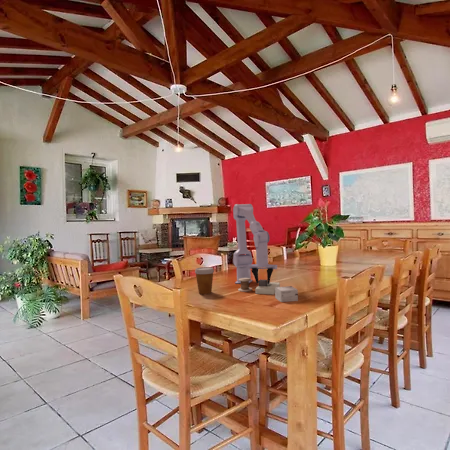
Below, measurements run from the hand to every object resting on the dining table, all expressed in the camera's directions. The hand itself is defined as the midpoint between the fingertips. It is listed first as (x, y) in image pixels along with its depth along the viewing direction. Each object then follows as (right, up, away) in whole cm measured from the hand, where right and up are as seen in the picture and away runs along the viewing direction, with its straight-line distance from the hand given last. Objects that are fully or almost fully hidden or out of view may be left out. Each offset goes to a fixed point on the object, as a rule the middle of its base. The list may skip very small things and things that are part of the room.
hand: (262, 283), depth 164 cm
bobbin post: (-9, -4, +2) cm, 10 cm away
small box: (+8, -4, -20) cm, 22 cm away
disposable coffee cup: (-29, -5, -1) cm, 29 cm away
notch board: (+2, -3, -1) cm, 4 cm away
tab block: (0, -4, 0) cm, 3 cm away
